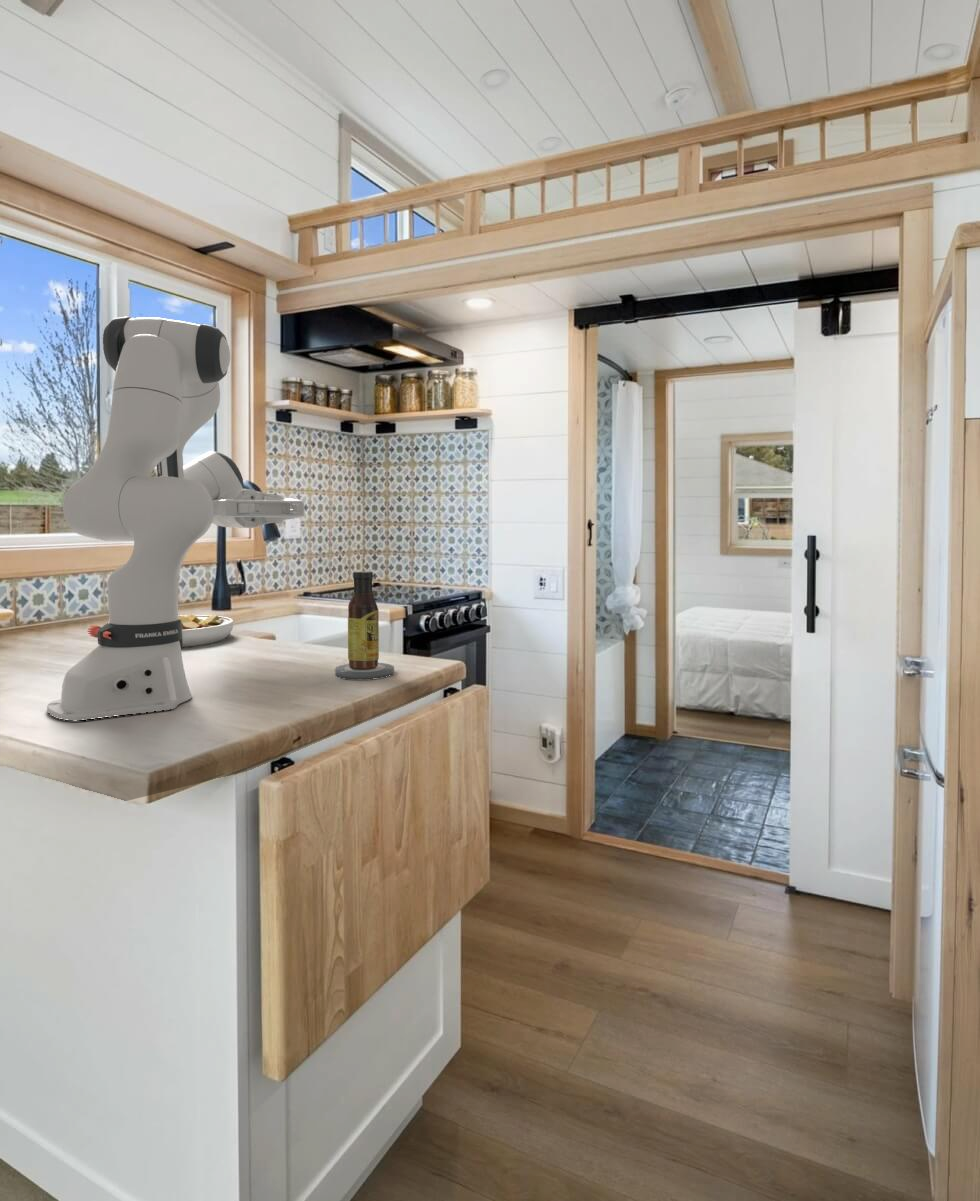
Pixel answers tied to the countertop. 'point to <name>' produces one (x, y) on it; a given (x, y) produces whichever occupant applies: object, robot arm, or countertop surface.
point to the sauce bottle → (363, 624)
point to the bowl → (204, 629)
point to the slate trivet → (364, 672)
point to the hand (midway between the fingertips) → (276, 508)
